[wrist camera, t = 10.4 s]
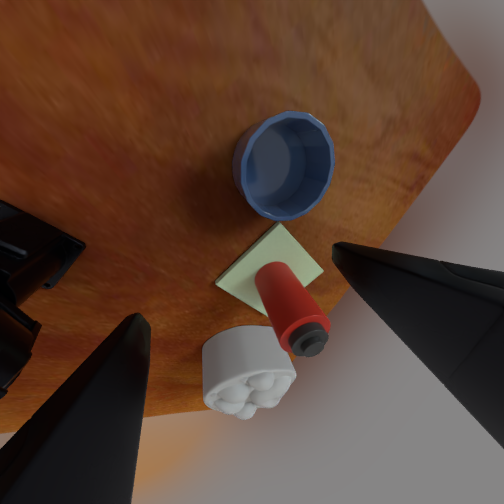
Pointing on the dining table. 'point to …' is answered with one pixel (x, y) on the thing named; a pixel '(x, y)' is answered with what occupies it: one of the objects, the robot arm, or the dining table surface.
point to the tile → (261, 253)
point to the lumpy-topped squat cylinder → (245, 370)
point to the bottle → (292, 310)
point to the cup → (284, 165)
